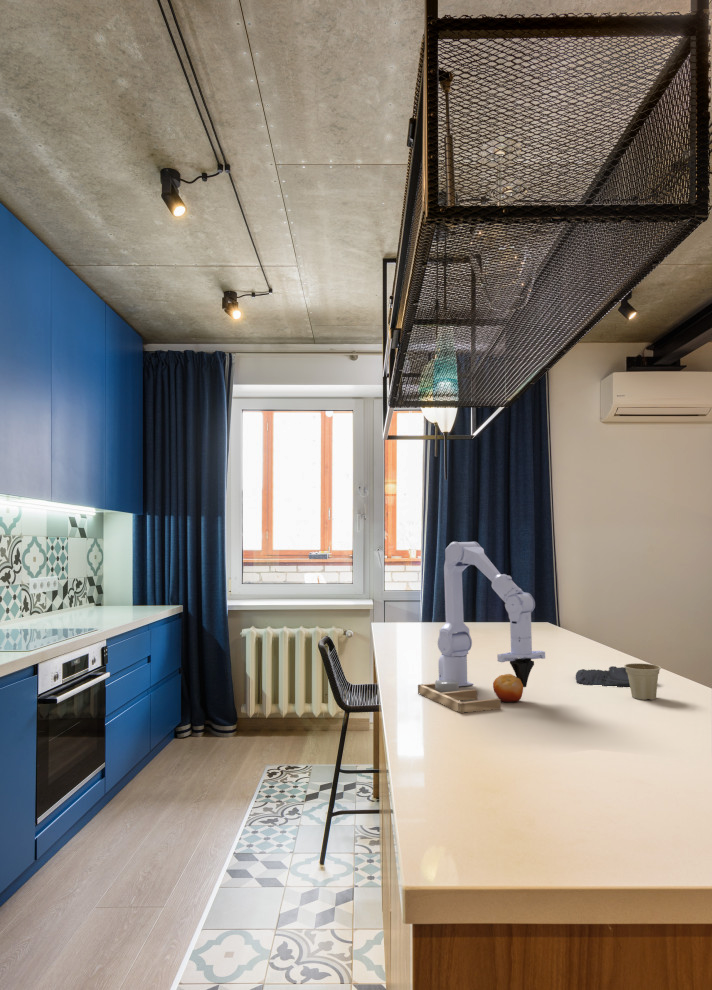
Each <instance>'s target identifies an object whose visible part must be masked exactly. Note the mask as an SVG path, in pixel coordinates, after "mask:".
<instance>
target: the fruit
mask: <svg viewBox="0 0 712 990" xmlns="http://www.w3.org/2000/svg"><path fill="white" fill-rule="evenodd" d="M492 687H493V692H494V694H495V696H496V697H497V698H498V699H501V703H512V702H515V703H517V702H519V701H520V700H521V699H522V697H523V693H524V687H523V684H522V682H521V680H520V679H519V678H517V677H516V675H514V674H511V673H507V674H506V673H505V674H501V675H499V676H497V677H496V678H494V680H493V685H492Z"/></svg>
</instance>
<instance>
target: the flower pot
mask: <svg viewBox="0 0 712 990" xmlns="http://www.w3.org/2000/svg"><path fill="white" fill-rule="evenodd" d="M623 667H624V668H626V672H627V673H628V678H629V683H630V688H629V689H630V694H631V697H632V698H634V699H636V700H642V701H647V700H651V701H654V700H656V699H657V691H658V680H659V674H660V670H661V668H662V667H661V666H660V665H656V664H652V663H643V662H642V663H641V662H640V663H637V662H636V663H626V664H624V665H623Z"/></svg>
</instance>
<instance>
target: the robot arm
mask: <svg viewBox="0 0 712 990" xmlns="http://www.w3.org/2000/svg"><path fill="white" fill-rule="evenodd" d="M444 555H445V556H444V557H445V560H444V564H443V578H444V601H445V602H444V608H445V609H444V610H445V623H444V625H442V626H441V628H440V629H439V636H438V639H437V648H438V650H439V652H440V653H441V655H440V656H439V658H438V662H437V663H438V679H436V680H435V681H438V680H454V681H457V682H458V683H459V687H467V686H468V687H469V686H473V685H474V683H473V682H470V681H468V655H469V651H470V650H471V649H472V647H473V640H472V638H471V635H470V627H468V626H467V625H466V624H465V623H464V621H465V619H464V598H463V597H464V596H463V593H464V592H463V572H464V570H465V569H467V567H469V566H471V565H472V566H475V567H476V568H477V569H478V570H479V571H480V572H481V573H482V574H483V575H484V576H485V577H487V579H488V580H489V581H490V582H491V588H492V590H493V591H494V592H495V593H496V595H498V597H499V598H500V599H501V600H502V601H503V602H504V607H505V610H506V612H507V614H508V619H509V625H510V627H509V628H510V629H509V631H510V632H509V633H510V651H509V652H505V653H499V654H498V653H497V662H498V663H505V662H509V665H510V666H511V668H512V670H513V672H514V674H515V677H517V678H519V679H520V680H521V682H522V684H523V688H527V684H528V681H529V676H530V673H531V671H532V669H533V667H534V666H535V661H534V660H536V659H542V660H544V659H546V651H543V650H533V642H532V640H533V639H532V638H533V637H532V636H533V635H532V613H533V611H534V609H535V608H536V601H535V599H534V597H533V596H532V594H531V593H529V592H524V591H523V589H522V588H520V587H519V586H518V585H517V584H516V583H515V582H514V580H513V578H512V576H511V575H507V574H506V573H503V574H501V572H500V571H499V570H498V569H497V567H496V566H495V565H494V563H492V562H491V560H490V559H489V557H488V556H487V555H486V554H485V550H484V548H483V547H482V546H481V544H479V543H478V542H477V541H461V542H460V541H459V542H458V541H452V542H450V543H449V545H448V546H447V547H446V548H445V550H444Z"/></svg>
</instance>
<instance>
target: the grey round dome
mask: <svg viewBox="0 0 712 990" xmlns="http://www.w3.org/2000/svg"><path fill="white" fill-rule="evenodd" d="M437 680H438V681H436V680H435V682H434V683H435V691H438V692H440V693H444V692H454V691H460V690H459V689H460V688H459V687H460V686H459V683H458V682H457V681H454V680H439V679H437Z"/></svg>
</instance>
